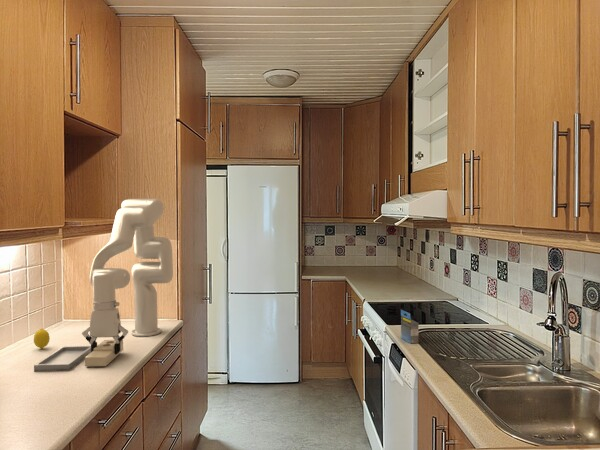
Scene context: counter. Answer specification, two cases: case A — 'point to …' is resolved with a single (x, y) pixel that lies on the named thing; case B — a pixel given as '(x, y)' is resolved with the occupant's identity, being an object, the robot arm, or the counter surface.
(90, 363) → the electrical outlet
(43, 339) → the lemon
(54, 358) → the grey rectangular tray
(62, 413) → the counter surface
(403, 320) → the label tape cartridge
